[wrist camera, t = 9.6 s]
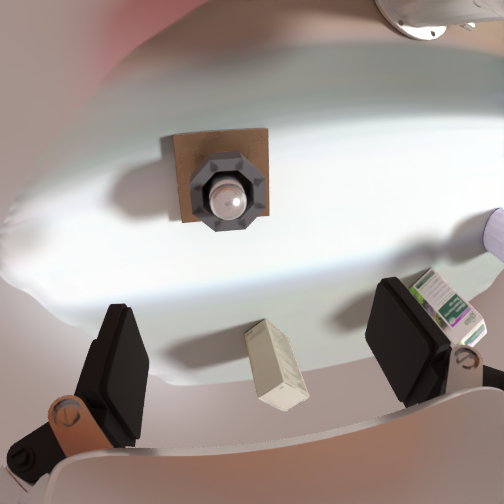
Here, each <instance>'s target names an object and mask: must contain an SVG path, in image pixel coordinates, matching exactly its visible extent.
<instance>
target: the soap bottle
mask: <svg viewBox="0 0 504 504" xmlns="http://www.w3.org/2000/svg"><path fill="white" fill-rule="evenodd" d="M483 242H484V246H485V248H486V250H487V251H489V252H490V253H491V254H493V255H494V256H495V257H497V258H498V259H499V260H501V261H502V262H503V263H504V208H499V209H498V210H496V211H495V212H494V213H493V214H492V215H491V217H490V218H489V220H488V222H487V224H486V227H485V230H484V236H483Z"/></svg>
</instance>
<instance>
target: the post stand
mask: <svg viewBox="0 0 504 504" xmlns="http://www.w3.org/2000/svg"><path fill="white" fill-rule="evenodd" d="M173 140H174V152H175V163H176V173H177V183H178V192H179V201H180V209H181V217H182V223H188V222H199V221H201V220H200V219H198V218H197V217H196V216H194V215H193V214H192V207H191V198H190V188H189V182H190V178H191V174H192V173H193V172H194V171H195V170H196V168H197V167H198V166H199V165H200V164H201V163H202V162H203V160H204V159H205V158H206V157H207V156H208V155H209V154H210V153H218V152H233V151H238V152H239V153H241V154H242V155H243V156H244V157H245V158H246V159H247V160H249V161H250V162H251V163H252V164H253V165H254V166H255V167H256V168H258V169H259V171H260V172H261V173H262V175H263V176H264V177H265V192H266V208H265V209H264V210H263V211H262V212H261V213H260V214H259V215H258V216H257V217H260V216H269V148H268V129H267V128H246V129H227V130H212V131H200V132H189V133H180V134H174V135H173ZM203 190H204V195H205V196H206V197H207V198H208V199H210V208H211V210H212V212H213V213H214V214H215V215H216V216H217V217H218V218H220V219H223V220H233V219H236V218H238V217H239V216H240V215H242V213H243V212H244V211H245V209H246V205H247V198H246V194H247V193H248V192H249V190H248V178H246V177H245V176H244V175H243V174H242V173H241V172H239V171H238V170H232V171H218V172H215V173H214V174H213V175H212V176H211V178H210V179H209V180H208V181H207V182H206V183H205V184H204V186H203Z"/></svg>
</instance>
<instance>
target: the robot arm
mask: <svg viewBox="0 0 504 504" xmlns="http://www.w3.org/2000/svg"><path fill="white" fill-rule="evenodd" d="M374 1H375V3H376V5H377V7H378V8H379V10H380V12H381V13H382V14H383V16H384V17H385V18H386V19H387V21H388V22H389V23H390V24H391V25H392V26H393V27H395V28H396V29H397V30H398V31H400V32H401V33H403V34H405V35H406V36H408V37H411V38H413V39H416V40H421V41H426V40H433V39H436V38H438V37H440V36H441V35H442V34H443V33H444V31H445V29H446V26H452V25H460V26H461V27H463V28H465V29H467V30H469V31H472V30H473V29H474V23H478V22H490V21H504V0H374ZM365 338H366V341H367V343H368V345H369V347H370V349H371V350H372V352H373V354H374V356H375V357H376V359H377V361H378V363H379V365H380V367H381V368H382V370H383V372H384V374H385V376H386V377H387V379H388V381H389V383H390V385H391V387H392V389H393V391H394V392H395V394H396V396H397V398H398V400H399V401H400V402H403V403H404V405H405V407H406V408H405V409H402V410H400V411H397V412H394V413H390V414H387V415H384V416H381V417H378V418H374V419H371V420H367V421H364V422H360V423H356V424H353V425H349V426H345V427H341V428H337V429H333V430H328V431H324V432H319V433H315V434H309V435H304V436H299V437H293V438H287V439H281V440H274V441H267V442H260V443H251V444H242V445H232V446H219V447H203V448H164V449H163V448H159V449H158V448H125V446H131V447H135V442H136V439H139V438H140V434H141V424H142V416H143V407H144V399H145V392H146V384H147V377H148V371H149V358H148V355H147V352H146V350H145V347H144V344H143V341H142V338H141V335H140V333H139V330H138V327H137V324H136V321H135V318H134V314H133V311H132V309H131V307H127V306H126V304H111V305H110V306H109V308H108V310H107V313H106V315H105V318H104V321H103V323H102V326H101V329H100V331H99V334H98V337H97V339H95V340H93V342H92V343H91V346H90V349H89V351H88V354H87V357H86V360H85V363H84V366H83V369H82V372H81V375H80V378H79V381H78V384H77V388H76V391H75V394H74V396H73V395H66V396H62V397H60V398H58V399H56V400H55V401H54V402H53V403H52V404H51V406H50V408H49V410H48V420H49V422H47V423H46V424H44V425H42V426H41V427H40V428H38V429H36V430H35V431H33V432H32V433H30V434H28V435H27V436H25V437H24V438H22V439H21V440H19V441H18V442H16V443H14V444H13V445H12V446H11V447H10V449H9V451H8V453H7V464H8V465H7V466H6V467H4V466H1V468H0V504H504V372H503V371H500V370H497V369H494V368H491V367H488V366H485V365H483V360H482V357H481V355H480V353H479V352H478V351H477V350H476V349H474V348H473V347H471V346H468V345H457V346H455V347H454V348H453V349H452V348H451V347H450V344H451V341H450V340H449V339H448V338H447V336H446V335H445V334H444V333H443V331H442V330H441V329H440V328H439V326H438V325H437V324H436V323H435V321H434V320H433V319H432V318H431V316H430V315H429V314H428V313H427V312H426V310H425V309H424V308H423V307H422V306H421V304H420V303H419V302H418V301H417V300H416V299H415V297H414V296H413V295H412V294H411V293H410V292H409V290H408V289H407V288H406V287H405V286H404V285H403V284H402V283H401V281H400V280H399V279H398V278H397V277H390V278H384V279H382V280H381V282H380V283H378V285H377V288H376V293H375V297H374V301H373V305H372V309H371V313H370V317H369V321H368V325H367V329H366V332H365ZM417 403H418V404H417ZM416 404H417V405H416ZM413 405H414V406H413Z"/></svg>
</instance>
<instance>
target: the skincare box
mask: <svg viewBox="0 0 504 504" xmlns="http://www.w3.org/2000/svg"><path fill="white" fill-rule="evenodd" d="M244 336H245V341H246V346H247V350H248V355H249V360H250V364H251V369H252V374H253V378H254V383H255V387H256V392H257V396H258V399H260V400H262V401H263V402H265V403H267V404H269V405H272V406H273V407H276V408H278V409H280V410H282V411H287V410H289V409H291V408H293V407H294V406H296V405H298V404H300V403H301V402H303V401H305V400H307V399H308V398H309V394H308V391H307V389H306V385H305V383H304V380H303V378H302V375H301V372H300V369H299V366H298V364H297V361H296V358H295V355H294V353H293V350H292V347H291V345H290V342H289V339H288V337H287V336H286V335H284V334H283V333H282V332H281V331H280V330H278V329H277V328H276V327H275V326H274V325H272V324H271V323H270V322H268V321H267V320H266V319H264V320H263V321H261V322H260V323H259V324H257V325H256V326H255V327H253V328H252V329H251V330H249V331H248V332H247V333H245V334H244Z"/></svg>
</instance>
